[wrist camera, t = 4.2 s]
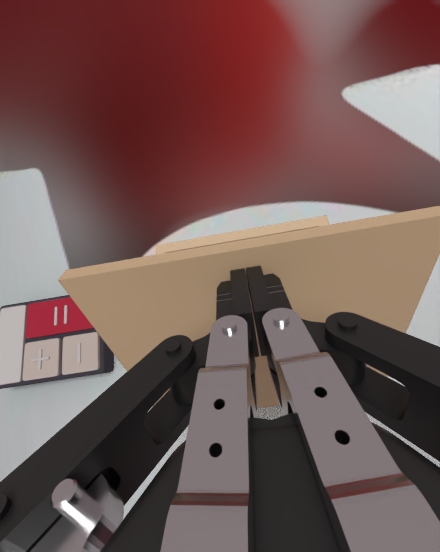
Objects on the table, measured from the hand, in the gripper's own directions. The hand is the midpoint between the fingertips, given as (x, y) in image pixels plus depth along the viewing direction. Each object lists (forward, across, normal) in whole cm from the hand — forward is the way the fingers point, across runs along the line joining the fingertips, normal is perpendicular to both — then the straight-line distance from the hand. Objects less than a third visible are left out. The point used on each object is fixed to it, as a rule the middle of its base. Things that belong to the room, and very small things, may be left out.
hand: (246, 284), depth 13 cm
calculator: (+17, +27, +15) cm, 35 cm away
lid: (+2, 0, +6) cm, 6 cm away
